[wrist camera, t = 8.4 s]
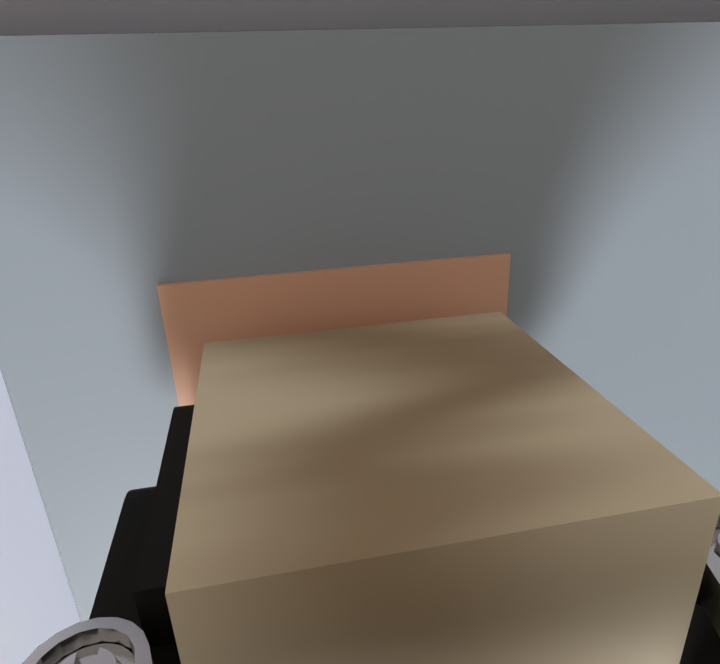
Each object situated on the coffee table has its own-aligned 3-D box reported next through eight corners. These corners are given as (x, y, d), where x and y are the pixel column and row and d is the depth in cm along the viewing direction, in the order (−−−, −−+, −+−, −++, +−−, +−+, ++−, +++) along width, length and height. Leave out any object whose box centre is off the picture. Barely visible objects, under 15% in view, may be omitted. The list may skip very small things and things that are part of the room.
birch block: (500, 311, 10) (724, 494, 5) (485, 535, 12) (638, 812, 7) (204, 342, 9) (164, 593, 4) (241, 578, 11) (240, 921, 6)
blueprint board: (1138, 17, 12) (1201, 11, 11) (904, 546, 18) (935, 567, 17) (-76, 42, 8) (-110, 37, 8) (124, 707, 14) (117, 744, 13)
